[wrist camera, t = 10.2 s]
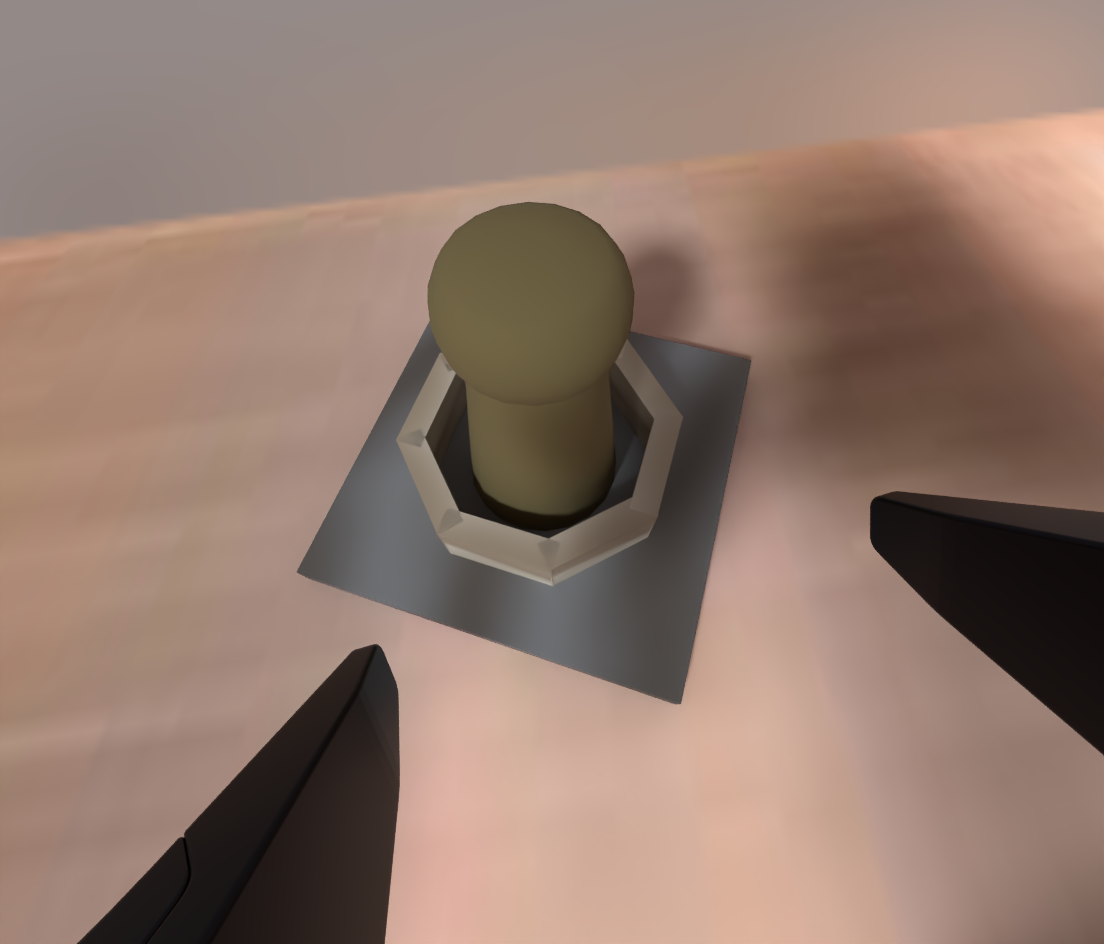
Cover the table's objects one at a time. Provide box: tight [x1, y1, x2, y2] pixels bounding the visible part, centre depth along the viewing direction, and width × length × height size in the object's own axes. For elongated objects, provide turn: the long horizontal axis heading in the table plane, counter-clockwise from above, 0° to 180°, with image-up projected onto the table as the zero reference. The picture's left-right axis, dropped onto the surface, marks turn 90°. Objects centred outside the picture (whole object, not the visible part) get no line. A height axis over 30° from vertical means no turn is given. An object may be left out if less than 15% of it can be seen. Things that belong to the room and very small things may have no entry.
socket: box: [297, 322, 751, 704], centre depth 21 cm, size 15×15×4 cm
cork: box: [428, 202, 634, 531], centre depth 17 cm, size 6×6×11 cm
